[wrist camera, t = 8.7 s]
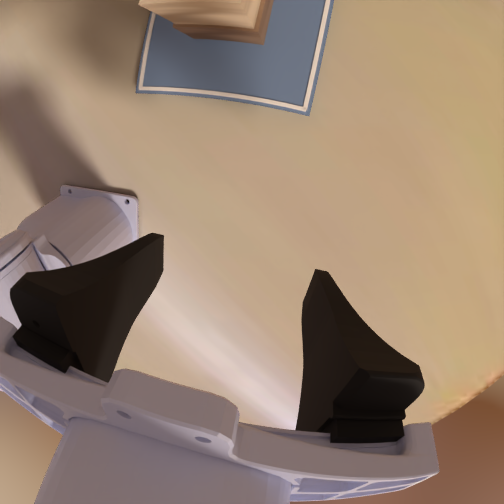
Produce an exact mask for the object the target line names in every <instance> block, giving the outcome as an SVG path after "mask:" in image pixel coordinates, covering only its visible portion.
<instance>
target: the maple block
mask: <svg viewBox="0 0 504 504" xmlns="http://www.w3.org/2000/svg"><path fill="white" fill-rule="evenodd" d="M260 2H261V0H140V1H139V5H140V6H142V7H144V8H146V9H148V10H150V11H152V12H154V13H156V14H158V15H159V16H161V17H163V18H165V19H167V20H169V21H171V22H172V23H174V24H200V25H219V26H231V27H241V28H249V29H254V27H255V23H256V18H257V14H258V10H259V6H260Z"/></svg>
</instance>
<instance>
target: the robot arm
mask: <svg viewBox="0 0 504 504" xmlns="http://www.w3.org/2000/svg"><path fill="white" fill-rule="evenodd" d="M70 190H71V191H72V192H71V191H70ZM60 195H61V196H59V197H57V198H56V199H54V200H52V201H51V202H49V203H48V204H46V205H44V206H43V207H41V208H40V209H38V210H37V211H35V212H34V213H32V214H31V215H29V216H28V217H26V218H25V219H24V220H23V221H22V222H21V223H20V225H19V226H18V228H17V230H15V231H13V232H11V233H9V234H8V235H6V236H4V237H3V238H1V239H0V391H3V392H5V393H6V394H7V395H9V396H10V397H11V398H12V399H14V400H15V401H16V402H18V403H19V404H20V405H21V406H23V407H24V408H25V409H27V410H28V411H29V412H31V413H32V414H33V415H35V416H36V417H37V418H39V419H40V420H42V421H43V422H44V423H46V424H47V425H49V426H50V427H52V428H53V429H55V430H56V431H58V432H59V433H61V434H62V435H63V436H62V438H61V441H60V443H59V445H58V447H57V449H56V452H55V454H54V456H53V458H52V461H51V463H50V465H49V467H48V470H47V473H46V475H45V477H44V479H43V482H42V484H41V487H40V489H39V492H38V495H37V498H36V500H35V503H34V504H290V501H319V500H334V499H344V498H353V497H361V496H368V495H375V494H381V493H387V492H393V491H398V490H403V489H405V488H408V487H410V486H412V485H414V484H417V483H419V482H421V481H423V480H425V479H427V478H429V477H431V476H433V475H435V474H437V473H438V472H439V467H438V459H437V453H436V448H435V443H434V437H433V432H432V428H431V423H430V422H425V423H413V424H408V425H405V426H403V423H402V420H403V419H405V417H406V415H405V409H406V408H407V407H408V406H409V405H410V404H411V403H413V402H414V401H415V400H416V399H417V398H418V397H419V396H420V394H421V393H422V391H423V389H424V380H423V376H422V373H421V370H420V367H419V365H417V364H416V363H414V362H412V361H411V360H409V359H408V358H406V357H404V356H403V355H401V354H400V353H399V352H397V351H396V350H395V349H393V348H392V347H391V346H390V345H388V344H387V343H386V342H385V341H384V340H382V339H381V338H380V337H379V336H378V335H377V334H376V333H375V332H374V331H373V330H372V329H371V328H370V327H369V326H368V325H367V324H366V323H365V322H364V321H363V320H362V318H361V317H360V316H359V315H358V314H357V312H356V311H355V310H354V309H353V307H352V306H351V305H350V303H349V302H348V301H347V299H346V298H345V296H344V295H343V293H342V292H341V290H340V289H339V287H338V286H337V284H336V283H335V281H334V280H333V278H332V277H331V275H330V274H329V273H328V272H327V271H322V270H318V269H315V272H314V274H313V277H312V280H311V282H310V285H309V288H308V290H307V293H306V296H305V298H304V301H303V307H302V340H303V379H302V389H301V398H300V405H299V412H298V419H297V425H296V430H287V429H279V428H271V427H265V426H258V425H252V424H246V423H241V422H238V421H239V411H238V408H237V407H236V405H234V404H233V403H232V402H230V401H229V400H227V399H226V398H224V397H221V396H219V395H216V394H213V393H210V392H207V391H203V390H199V389H195V388H191V387H187V386H184V385H180V384H177V383H173V382H170V381H167V380H163V379H160V378H157V377H154V376H151V375H148V374H145V373H142V372H139V371H135V370H130V369H121V370H118V371H114V368H115V366H116V363H117V360H118V357H119V354H120V352H121V349H122V347H123V344H124V342H125V340H126V337H127V335H128V333H129V331H130V329H131V326H132V325H133V323H134V321H135V319H136V317H137V316H138V314H139V313H140V311H141V309H142V308H143V306H144V305H145V303H146V302H147V300H148V298H149V297H150V295H151V294H152V292H153V291H154V289H155V287H156V285H157V283H158V281H159V279H160V277H161V275H162V272H163V249H164V235H160V234H156V233H150V234H148V235H146V236H143V237H141V238H139V232H138V199H137V198H136V197H135V196H130V195H125V194H119V193H113V192H107V191H101V190H95V189H89V188H83V187H76V186H70V185H63V186H61V187H60ZM127 199H128V200H129V203H128V202H127ZM113 371H114V373H113ZM112 374H113V375H112Z"/></svg>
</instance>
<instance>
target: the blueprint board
mask: <svg viewBox="0 0 504 504" xmlns="http://www.w3.org/2000/svg"><path fill="white" fill-rule="evenodd" d="M333 3H334V0H261V2H260V6H259V10H258V14H257V18H256V23H255V27H254V29H249V28H241V27H231V26H219V25H200V24H174V23H172V22H171V21H169V20H167V19H165V18H163V17H161V16H159V15H158V14H156V13H154V12H152V11H151V12H150V16H149V20H148V24H147V29H146V34H145V38H144V43H143V49H142V54H141V60H140V66H139V72H138V79H137V86H136V93H148V94H170V95H184V96H195V97H205V98H214V99H222V100H229V101H236V102H242V103H248V104H254V105H260V106H265V107H270V108H275V109H280V110H285V111H289V112H294V113H298V114H302V115H306V116H309V115H310V111H311V106H312V102H313V98H314V93H315V89H316V84H317V80H318V75H319V71H320V66H321V61H322V57H323V52H324V47H325V43H326V38H327V33H328V28H329V23H330V18H331V13H332V8H333Z"/></svg>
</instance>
